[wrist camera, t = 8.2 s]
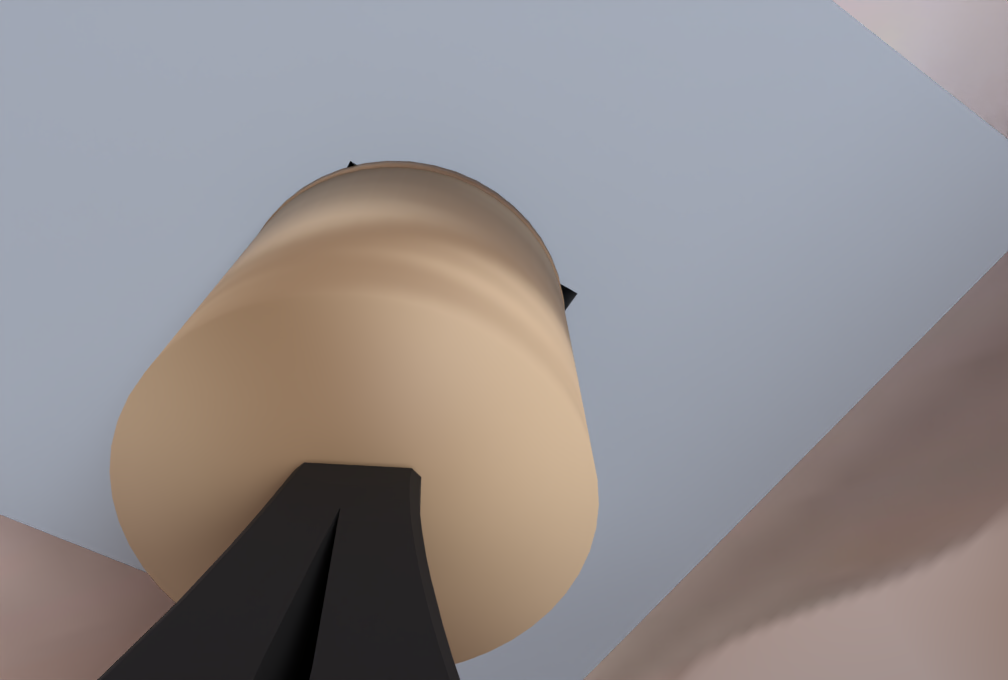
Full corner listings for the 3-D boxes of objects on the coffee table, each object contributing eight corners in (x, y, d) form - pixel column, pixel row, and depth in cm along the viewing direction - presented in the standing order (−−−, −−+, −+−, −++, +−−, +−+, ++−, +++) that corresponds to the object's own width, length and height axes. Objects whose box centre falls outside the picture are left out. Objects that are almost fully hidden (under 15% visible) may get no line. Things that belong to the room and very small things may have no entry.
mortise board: (996, 157, 14) (1069, 188, 12) (532, 658, 20) (536, 726, 18) (178, -477, 10) (110, -568, 8) (-89, 395, 16) (-160, 451, 14)
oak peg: (575, 151, 14) (640, 314, 8) (539, 411, 16) (566, 686, 10) (260, 122, 13) (67, 268, 7) (275, 392, 16) (142, 664, 10)
